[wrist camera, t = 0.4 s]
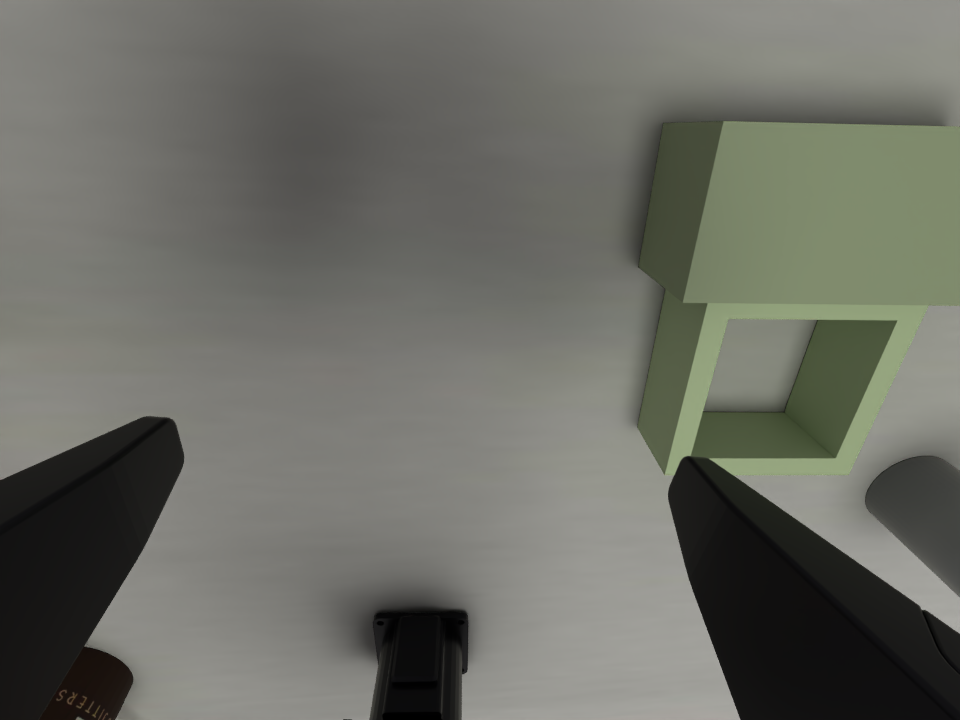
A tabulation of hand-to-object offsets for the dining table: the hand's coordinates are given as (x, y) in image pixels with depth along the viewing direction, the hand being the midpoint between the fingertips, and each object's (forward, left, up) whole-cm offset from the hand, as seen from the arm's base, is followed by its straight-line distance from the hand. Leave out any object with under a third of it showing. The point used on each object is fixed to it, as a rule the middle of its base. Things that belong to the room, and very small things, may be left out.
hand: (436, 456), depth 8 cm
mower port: (-2, -15, -15) cm, 21 cm away
